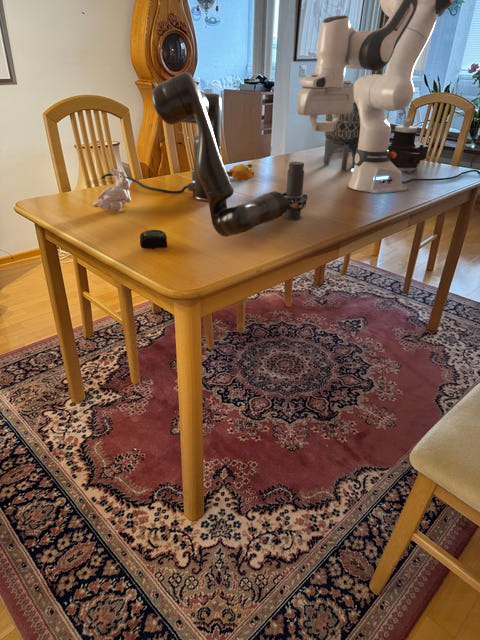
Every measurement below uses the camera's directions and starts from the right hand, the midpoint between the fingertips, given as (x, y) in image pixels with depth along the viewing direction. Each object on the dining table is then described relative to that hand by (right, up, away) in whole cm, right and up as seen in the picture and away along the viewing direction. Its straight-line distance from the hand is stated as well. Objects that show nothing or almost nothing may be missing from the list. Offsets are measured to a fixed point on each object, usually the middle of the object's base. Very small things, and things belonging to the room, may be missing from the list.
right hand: (323, 130), depth 142 cm
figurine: (-66, -24, +3) cm, 71 cm away
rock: (+30, +31, +103) cm, 112 cm away
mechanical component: (+49, +11, +68) cm, 85 cm away
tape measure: (-48, -41, -25) cm, 68 cm away
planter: (+21, +11, +68) cm, 72 cm away
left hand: (-8, -21, -1) cm, 22 cm away
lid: (0, +2, -1) cm, 2 cm away
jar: (-10, -27, +1) cm, 29 cm away
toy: (-25, -1, +44) cm, 51 cm away
